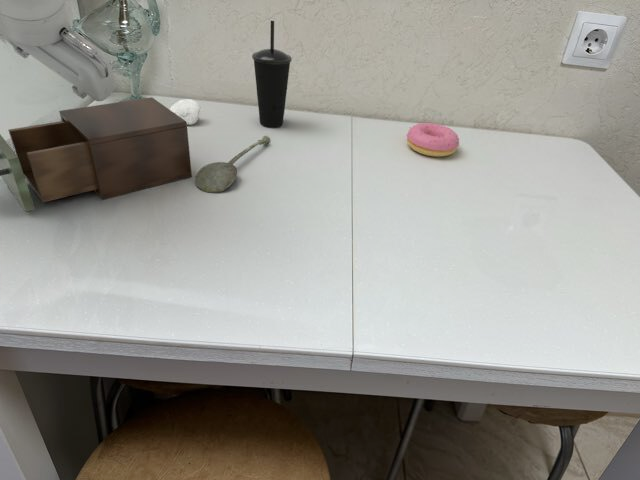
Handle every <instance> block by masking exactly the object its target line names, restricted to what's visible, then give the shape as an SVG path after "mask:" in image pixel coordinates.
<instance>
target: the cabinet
mask: <svg viewBox="0 0 640 480" xmlns="http://www.w3.org/2000/svg"><path fill="white" fill-rule="evenodd" d="M169 109H170V108H168V107H167V106H166V105H164V104H162V103H161V102H159V101H158V100H156V98H154V97H153V96H152V97H151V96H150V97H143V98H138V99H131V100H124V101H117V102H111V103H110V102H109V103H104V104H97V105H96V104H95V105H91V106H83V107H76V108H69V109H63V110H59V111H58V113H59V116H60V121H66V122H67V123H68V124H69V125H70V126H71V127H72V128H73V129H75V130H76V131H77V132H78V133H79V134H80V135H81V136H82V137H83V138H84V139H85V140H86V141H87V142H88V145H89V149H90V154H91V158H92V162H93V167H94V171H95V176H96V180H97V185H98V189H96V190H93V191H94V192H95V194H96V195H97V196H98V197H99V198H100V199H101V200H102V201H103V200H107V199H110V198H115V197H118V196H122V195H126V194H130V193H134V192H139V191H142V190H145V189H150V188H154V187H157V186H161V185H165V184H168V183H169V184H170V183H173V182H177V181H181V180H184V179H185V180H186V179H188V178H192V177H193V174H192V163H191V153H190V143H189V134H188V133H189V132H188V125H187V122H186V121H185V120H184V119H182V118H181V117H179V116H178V115H176V114H175V113H174V112H172V111H171V110H169Z"/></svg>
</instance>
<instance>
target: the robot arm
mask: <svg viewBox="0 0 640 480" xmlns="http://www.w3.org/2000/svg"><path fill="white" fill-rule="evenodd" d="M73 24H74V15H73V11H72V7H71V2H70V0H0V35H1V36H3V37H4V39H5V40H6V41H7V42H8V43H9V44H10V46H12V48H13V50H14V52H15V53H16V54H18V55H19V56H20V57H22V58H24V59H27V58H29V56H31V57H33V58H34V59H35V60H38V62H40V63H41V64H42V65H44V66H46V67H47V68H48V69H50V70H51V71H52V72H54V73H55V74H57V75H58V76H59V77H61V78H62V79H64V80H65V81H67V82H68V83H70V85H72V86H71V89H72V93H74V94H75V95H76V96H78V97H79V98H81V99H82V100H83V99H85V98H86V97H87V96H88V97H90V98H91V99H92V100H94V101H96V102H104V101H105V100H106V99H108V97H109V96H111V95H112V94H113V93H114V92H115V90H116V88H117V86H118V85H117V81H116V78H115V77H116V76H115V74H114V71H113V68H112V66H111V64H110V61H109V59H108V57H106V55H105V53H104V52H102V50H100V49H99V48H98V47H97V46H95V45H94V44H93V43H92V42H90V41H88V40H87V39H86V38H84V37H83V36H82V35H80V34H79V33H77V32H76V31H75V30H74V29H72V27H73Z"/></svg>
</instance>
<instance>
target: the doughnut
mask: <svg viewBox="0 0 640 480" xmlns="http://www.w3.org/2000/svg"><path fill="white" fill-rule="evenodd" d="M406 142H407V145H408V146H409V148H410V149H412V150H413V151H415V152H416V153H418V154H421V155H424V156H428V157H434V158H435V157H437V158H440V157H447V156H451V155H452V154H454V153H455V152H456V151H457V149H458V147H459V146H460V138H459V135H458V133H456V131H454V130H453V129H452V128H449V127H447V126H445V125H443V124H439V123H432V122H422V123H417V124H414V125H412V127H409V129H408V131H407V133H406Z"/></svg>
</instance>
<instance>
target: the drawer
mask: <svg viewBox="0 0 640 480" xmlns="http://www.w3.org/2000/svg"><path fill="white" fill-rule="evenodd" d="M7 131H8V133H9V136H10V137H9V138H10V140H11V143H12V147H13V149H14V150H13V149H12V148H11V146H10V145H9V143H8V142H7V141H6V140H5V138H4V137H3V136H2V134H0V176H1V178H2V180H3V181H4V183H5V184H6V185H7V187H8V188H9V190H10V191H11V192H12V194H13V195H14V197H15V199H17V201H18V203H19V204H20V206H21V207H22V208H23V210H24V211H25V212H28V211H32V210H35V209H36V208H35V204H34V202H33V199H32V195H31V192H30V189H29V186H28V184H29V185H30V187H31V188H32V190H33V191H34V192H35V194H36V195H37V197H39V199H40V200H41V202H42V203H47V202H49V201H54V200H59V199H62V198H63V199H64V198H67V197H71V196H74V195H79V194H83V193H87V192H91V191H94V190H96V189H98V185H97V180H96V176H95V171H94V167H93V162H92V158H91V154H90V149H89V145H88V142H87V141H86V140H85V139H84V138H83V137H82V136H81V135H80V134H79V133H78V132H77V131H76V130H75V129H73V128H72V127H71V126H70V125H69V124H68V123H67V122H66V121H61V120H60V121H53V122H47V123H42V124H35V125H29V126H22V127H17V128H16V127H15V128H9V129H8V130H7Z"/></svg>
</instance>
